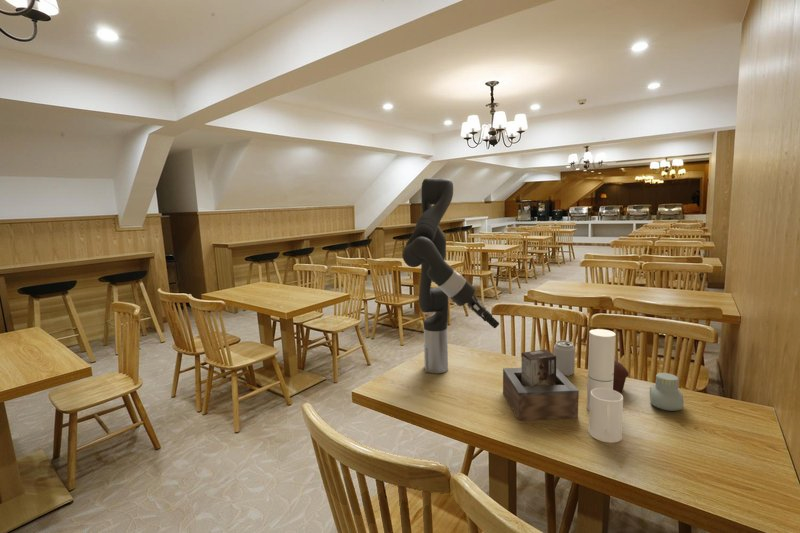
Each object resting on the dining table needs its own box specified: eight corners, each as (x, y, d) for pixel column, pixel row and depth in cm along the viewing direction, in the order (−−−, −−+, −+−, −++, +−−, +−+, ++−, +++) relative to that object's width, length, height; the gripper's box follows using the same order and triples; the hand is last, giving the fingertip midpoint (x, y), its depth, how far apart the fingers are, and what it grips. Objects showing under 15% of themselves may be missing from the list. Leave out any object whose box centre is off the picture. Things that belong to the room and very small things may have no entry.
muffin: (583, 384, 142) (584, 358, 141) (607, 378, 146) (608, 352, 144) (611, 399, 131) (612, 370, 130) (635, 392, 135) (637, 364, 133)
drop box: (518, 420, 121) (518, 392, 119) (503, 392, 139) (503, 368, 137) (577, 418, 121) (578, 390, 119) (554, 390, 139) (555, 366, 137)
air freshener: (648, 396, 133) (650, 367, 131) (678, 401, 129) (681, 371, 127) (651, 411, 123) (653, 381, 122) (683, 417, 119) (686, 386, 118)
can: (577, 376, 149) (578, 346, 147) (557, 377, 149) (558, 346, 147) (569, 368, 156) (570, 339, 154) (550, 369, 156) (551, 339, 154)
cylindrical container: (614, 407, 126) (618, 332, 122) (607, 417, 121) (611, 338, 117) (590, 400, 131) (593, 327, 127) (583, 409, 126) (586, 333, 122)
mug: (622, 453, 104) (624, 410, 102) (586, 444, 108) (588, 403, 106) (621, 429, 114) (623, 390, 112) (588, 423, 118) (590, 385, 116)
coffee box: (545, 394, 134) (546, 348, 132) (556, 403, 128) (557, 355, 125) (520, 398, 132) (520, 351, 130) (530, 407, 126) (531, 359, 124)
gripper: (469, 283, 116) (508, 319, 118) (461, 274, 130) (496, 307, 132) (451, 302, 117) (490, 337, 119) (445, 291, 131) (480, 323, 133)
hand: (493, 321), depth 125 cm, fingers open, 8 cm apart
